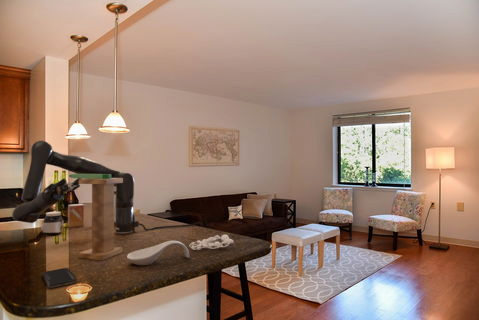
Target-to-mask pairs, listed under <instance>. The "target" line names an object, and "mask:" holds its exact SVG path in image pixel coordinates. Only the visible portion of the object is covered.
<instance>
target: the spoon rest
mask: <svg viewBox="0 0 479 320" xmlns="http://www.w3.org/2000/svg"><path fill="white" fill-rule="evenodd" d="M171 246H179V247H181V248H182V249H183V255H184V257H185V258H186V259H190V256H191V255H190V251H189V249H188V247H187V246H186V245H185V244H184V243H183V242H181V241H178V240H167V241H164V242H161V243H159V244H156V245H153V246H150V247H149V246H148V247H146V248H142V249H137V250H133V251H131V252H129V253H128V254H127V255H126V258H127V260H128V261H129V262H130V263H131V264H134V265H137V266H149V265H151V264H153V263H154V262H155V261H156V260H157V259H158V257H159V256H160V255H162V253H163V252H164V251H165V250H166V249H168V248H169V247H171Z"/></svg>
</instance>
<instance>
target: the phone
mask: <svg viewBox="0 0 479 320" xmlns="http://www.w3.org/2000/svg"><path fill="white" fill-rule="evenodd" d="M42 278H43V280H44V281H45V284H46V286H47V288H49V289H54V288H55V289H56V288H59V287H63V286H69V285H73V284H76V283H77V278H76V276H75V275H74V274H73V272H72V271H71V270H70V268H69V267H62V268H58V269H57V268H56V269H51V270H47V271H43V272H42Z"/></svg>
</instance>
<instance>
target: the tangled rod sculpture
mask: <svg viewBox="0 0 479 320" xmlns="http://www.w3.org/2000/svg"><path fill="white" fill-rule="evenodd" d="M218 240H220V241H221V242H220V241H218ZM233 244H234V240H233V239H232V238H230V237H229V235H227V234H222V235H221V236H220V235H218V234H216V235H214V236H211V237H208V238H207V239H206V238H204V239H202V240H200V239H198V240H197V241H194V242H193V241H192V242H191V243H190V244H189V245H188V247H189V248H190V249H191V250H193V251H196V250H197V251H199V252H200V251H201V250H202V249H206V250H207V249H210V250H216V249H219V248H226V247H229V246H231V245H233Z"/></svg>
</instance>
